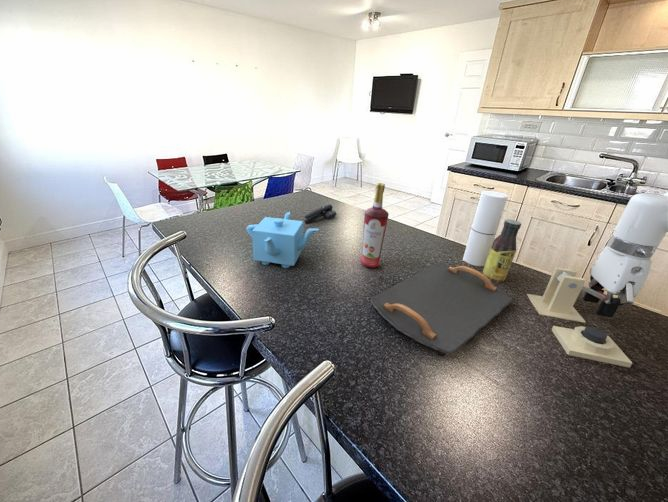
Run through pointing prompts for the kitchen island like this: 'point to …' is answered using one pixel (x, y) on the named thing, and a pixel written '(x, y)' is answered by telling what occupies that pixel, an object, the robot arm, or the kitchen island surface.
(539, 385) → the kitchen island surface
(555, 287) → the cream upright bracket stand
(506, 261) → the sauce bottle
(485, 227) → the cylindrical container
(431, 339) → the serving tray
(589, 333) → the dark round button
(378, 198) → the liquor
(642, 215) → the robot arm
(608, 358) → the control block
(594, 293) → the red tipped lever
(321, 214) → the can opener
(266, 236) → the teakettle
